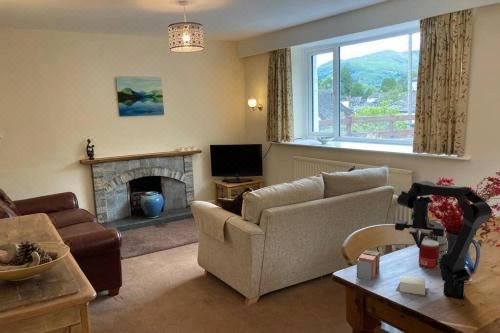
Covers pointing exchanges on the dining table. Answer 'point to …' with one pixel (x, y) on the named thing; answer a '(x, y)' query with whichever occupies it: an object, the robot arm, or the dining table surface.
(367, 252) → the walnut plug
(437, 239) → the coffee box
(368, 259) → the salmon pink block
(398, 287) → the rubber mat
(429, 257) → the canned food
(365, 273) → the socket block
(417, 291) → the cream rectangular block
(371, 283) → the dining table surface
